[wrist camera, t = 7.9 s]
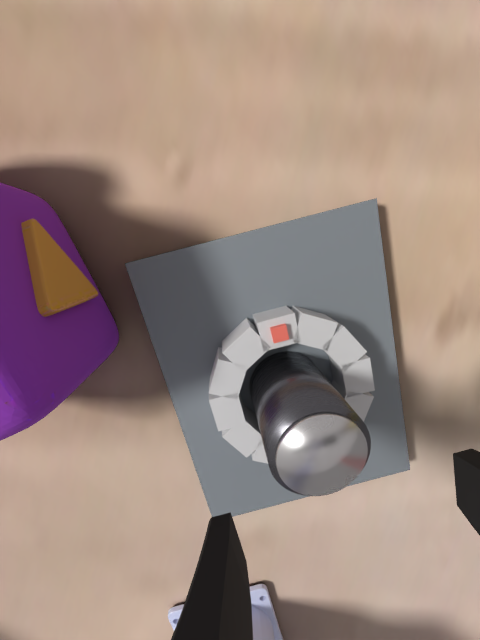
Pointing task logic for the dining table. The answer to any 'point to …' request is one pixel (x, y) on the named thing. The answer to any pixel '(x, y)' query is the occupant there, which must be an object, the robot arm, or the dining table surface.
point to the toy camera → (44, 313)
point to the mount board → (273, 341)
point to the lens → (307, 426)
